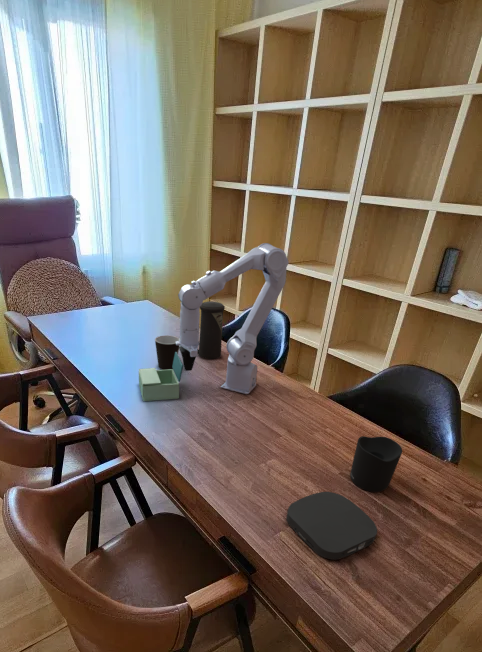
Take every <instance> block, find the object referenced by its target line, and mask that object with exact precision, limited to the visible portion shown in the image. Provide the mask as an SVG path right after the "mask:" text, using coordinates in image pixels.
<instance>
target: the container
mask: <svg viewBox="0 0 482 652" xmlns="http://www.w3.org/2000/svg"><path fill="white" fill-rule="evenodd" d="M224 310H225V305H224V304H223V303H222V302H218V301H212V300H211V301H203V303H202V305H201V306H200V323H199V346H198V350H199V354H198V356H199V357H200V358H202V359H205V360H216V359H219V358H221V356H222V341H223V340H222V339H223V320H224Z"/></svg>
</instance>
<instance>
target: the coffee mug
mask: <svg viewBox="0 0 482 652" xmlns="http://www.w3.org/2000/svg"><path fill="white" fill-rule="evenodd" d="M179 340H180V337H178V336H175V335H168V334H167V335H160V336H157V337H155V338H154V342H155V351H156V358H157V359H156V360H157V367H158V368H159V370H167V369H173V368H172V366H173V361H174V356H175V352H177V354H178V355H179V351H180V349H179V347H180V345H176V341H179Z"/></svg>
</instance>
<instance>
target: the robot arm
mask: <svg viewBox="0 0 482 652" xmlns="http://www.w3.org/2000/svg"><path fill="white" fill-rule="evenodd" d="M288 265H289V259H288V256H287V254H286V252H285V251H284V250H283V249H282V248H281V247H280V248H279V247H276V246H274V245H272V244H271V243H269V242H263V243H261V244H260V245H258V246H255V247H253V248H251V250H249V251H248V252H247V253H245V254H244V255H243V256H241V257H240V258H238V259H236V260H235V261H233V262H232V263H231V264H229V265H228V266H226V267H225V268H223V269H222V270H220V271H218V270H214V269H213V270H212V271H211V270H208V271H205V275H204V276H202V277H200V278H198V279H197V280H192V281H191V284H184V285H183V286H182V287H181V288H180V290H179V292H178V294H177V297H178V299H179V301H180V311H179V339H180V340H179V341H176V345H179V351H180V354H181V358H182V364H183V369H184V371H185V372H187V371H188V372H189V371H193V368H194V366H195V365H194V364H195V361H196V359H197V357H198V356H199V340H200V319H201V309H200V306H201V305H202V303H204V301H205V300H206V301H207V299H209V298H211V297H212V296H214V295H216V294H217V293H219V292H221V291H222V290H224V289H225V286H226V284H227V282H229V281H231V280H233V279H235V278H237V277H239V276H240V275H242V274H244V273H246V272H248V271H250V270H257V271H262V274H263V276H264V280H265V282H264V284H263V285H262V288H261V290H260V291H259V293H258V295H257V297H256V299H255V301H254V303H253V305H252V307H251V309H250V311H249V313H248V315H247V317H246V319H245V321H244V323H243V324H242V327H241V328H240V329H238V330H236V331H235V333H234V335H233V336H232V337H230V338H229V339H228V340H227V343H226V351H227V352H228V357H227V363H226V364H227V365H226V375H225V382H224V383H223V384H222V385H221V386H220V388H221V389H225V390H228V391H231V392H237V393H240V394H245V395H249V394H250V393H251V392H252V391H253V389H254V388H256V386H257V376H258V375H257V374H258V365H257V364H256V363H253V362H252V361H253V360H254V357H255V350H256V348H257V338H258V335H259V333H260V332H261V330H262V328H263V325H264V324H265V322H266V320H267V318H268V317H269V314H270V313H271V312H272V309H273V308H274V305H275V303H277V300H278V298H279V296H280V294H281V293H282V290H283V289H284V287H285V284H286V281H287V267H288Z"/></svg>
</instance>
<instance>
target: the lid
mask: <svg viewBox="0 0 482 652" xmlns="http://www.w3.org/2000/svg"><path fill="white" fill-rule="evenodd" d="M172 368H173V371H174V373H175V376H176V378H177V380H178V383H181V378H182V373H183V369H184V364H183V361H182V360H181V358H180V356H179V353H178V354H177V352H175V356H174V361H173V366H172Z"/></svg>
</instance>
